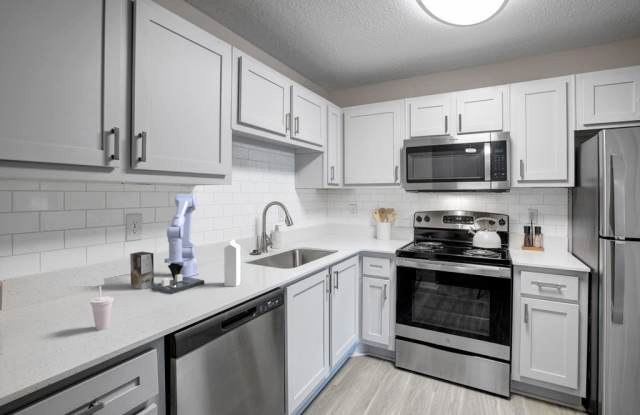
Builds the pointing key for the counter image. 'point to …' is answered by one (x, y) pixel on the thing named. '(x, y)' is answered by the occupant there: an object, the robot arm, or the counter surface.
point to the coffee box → (142, 270)
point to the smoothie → (102, 311)
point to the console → (178, 285)
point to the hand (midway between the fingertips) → (175, 278)
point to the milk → (232, 264)
